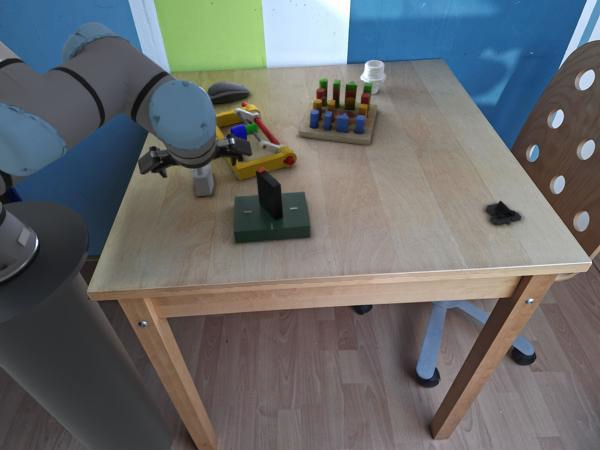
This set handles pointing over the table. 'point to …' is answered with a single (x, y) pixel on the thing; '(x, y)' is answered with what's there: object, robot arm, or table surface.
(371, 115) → the peg board
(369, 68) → the pipe fitting
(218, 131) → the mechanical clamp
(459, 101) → the table surface
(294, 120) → the table surface
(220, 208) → the table surface
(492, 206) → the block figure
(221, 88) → the computer mouse
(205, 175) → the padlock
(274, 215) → the black bar red tab
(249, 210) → the green rectangular block
